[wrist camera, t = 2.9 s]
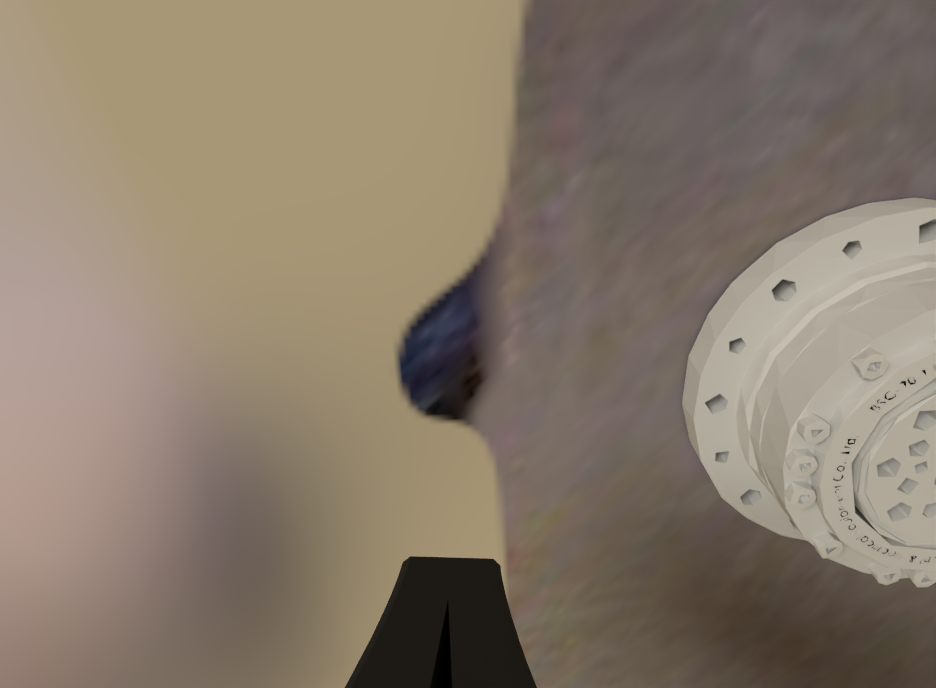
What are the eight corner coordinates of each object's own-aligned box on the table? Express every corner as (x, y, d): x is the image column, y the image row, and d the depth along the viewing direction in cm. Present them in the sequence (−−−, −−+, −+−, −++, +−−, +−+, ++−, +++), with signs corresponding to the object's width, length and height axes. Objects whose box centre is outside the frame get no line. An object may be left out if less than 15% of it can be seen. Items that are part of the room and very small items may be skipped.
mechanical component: (990, 508, 19) (1107, 184, 15) (1123, 625, 15) (1332, 228, 11) (666, 518, 20) (696, 205, 16) (713, 634, 16) (769, 255, 12)
